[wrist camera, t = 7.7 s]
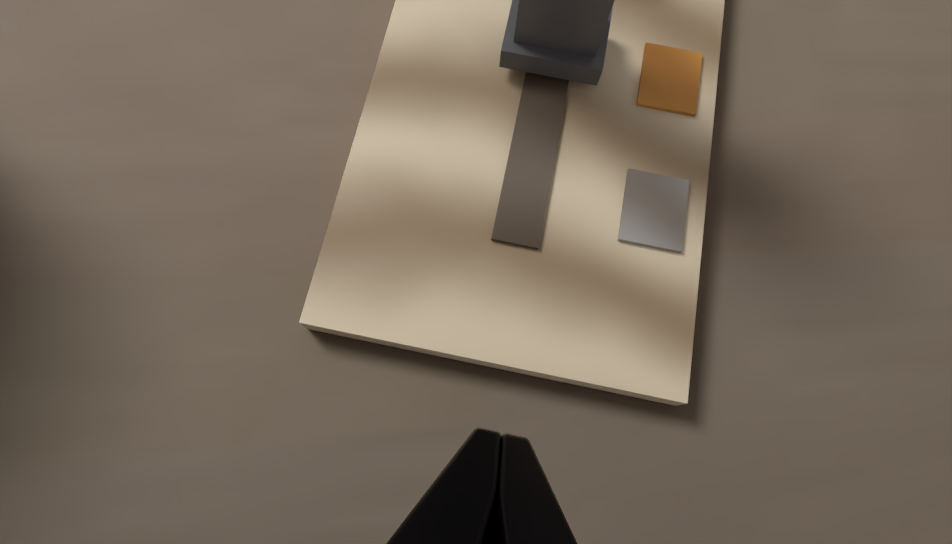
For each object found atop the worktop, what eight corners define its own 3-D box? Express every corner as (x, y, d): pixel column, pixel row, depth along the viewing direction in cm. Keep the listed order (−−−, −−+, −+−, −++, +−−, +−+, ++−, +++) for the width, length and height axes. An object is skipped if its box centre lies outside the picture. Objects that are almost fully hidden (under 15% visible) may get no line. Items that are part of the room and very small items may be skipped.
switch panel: (674, 405, 21) (717, 398, 18) (307, 329, 21) (278, 307, 18) (716, -21, 27) (755, -89, 23) (426, -76, 27) (422, -151, 24)
